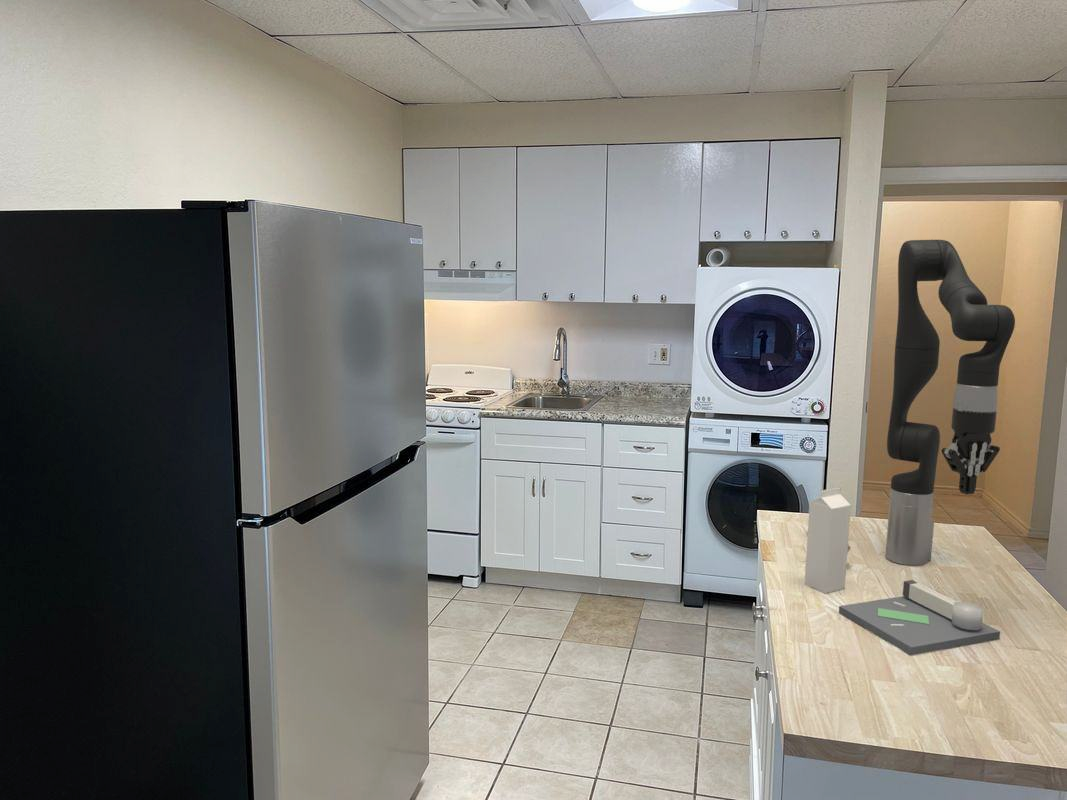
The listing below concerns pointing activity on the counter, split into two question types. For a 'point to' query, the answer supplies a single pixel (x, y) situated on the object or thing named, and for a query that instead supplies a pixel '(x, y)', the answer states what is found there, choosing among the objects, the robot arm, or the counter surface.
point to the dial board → (913, 625)
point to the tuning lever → (945, 606)
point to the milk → (827, 541)
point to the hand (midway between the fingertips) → (966, 493)
